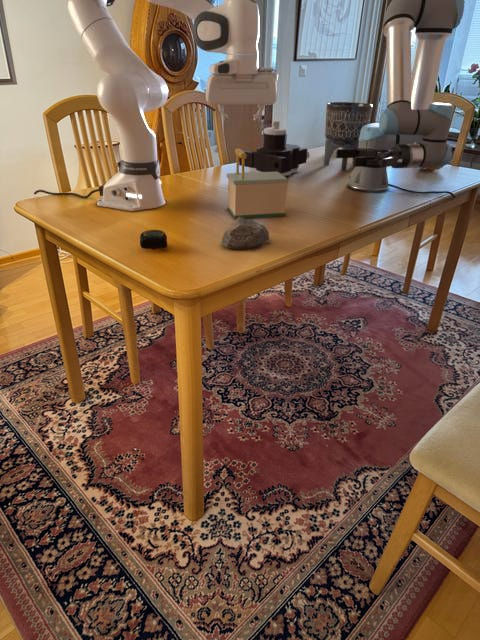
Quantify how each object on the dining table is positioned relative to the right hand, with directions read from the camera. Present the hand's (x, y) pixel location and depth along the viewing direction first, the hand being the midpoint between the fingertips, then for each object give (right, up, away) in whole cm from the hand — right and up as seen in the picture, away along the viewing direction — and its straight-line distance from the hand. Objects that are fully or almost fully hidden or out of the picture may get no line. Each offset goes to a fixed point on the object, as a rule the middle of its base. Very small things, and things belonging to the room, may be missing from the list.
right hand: (345, 157), depth 144 cm
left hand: (-33, +6, -13) cm, 36 cm away
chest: (-28, -17, +2) cm, 33 cm away
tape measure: (-56, -33, -27) cm, 70 cm away
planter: (+14, +19, +66) cm, 70 cm away
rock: (-32, -32, -23) cm, 50 cm away
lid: (-29, -8, -3) cm, 30 cm away
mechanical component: (-16, +12, +52) cm, 56 cm away
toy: (+53, +18, +65) cm, 86 cm away
